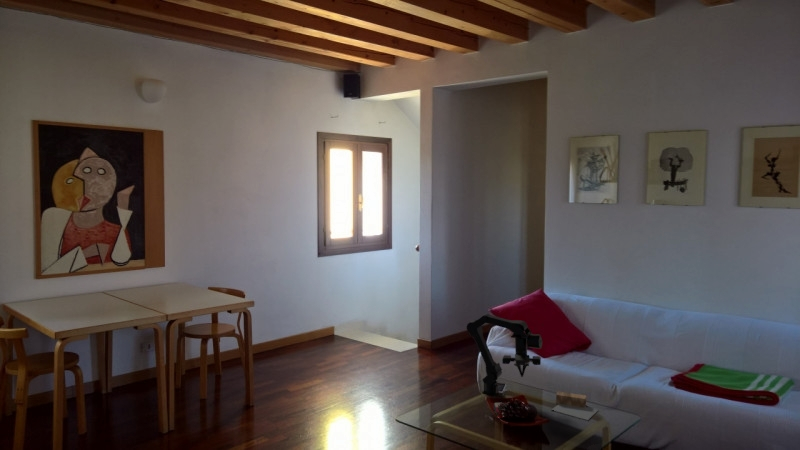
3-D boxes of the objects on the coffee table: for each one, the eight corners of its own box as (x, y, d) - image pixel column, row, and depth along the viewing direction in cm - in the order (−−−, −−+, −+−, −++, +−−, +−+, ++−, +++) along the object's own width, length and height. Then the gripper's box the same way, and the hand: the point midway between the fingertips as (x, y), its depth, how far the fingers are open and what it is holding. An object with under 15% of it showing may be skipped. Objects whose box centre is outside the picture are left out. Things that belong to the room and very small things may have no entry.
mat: (551, 410, 288) (551, 409, 287) (562, 401, 298) (562, 400, 298) (587, 420, 277) (587, 419, 277) (598, 410, 288) (598, 409, 288)
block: (556, 394, 294) (585, 398, 289) (557, 391, 299) (586, 395, 293) (556, 403, 295) (585, 407, 290) (557, 399, 299) (586, 404, 294)
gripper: (500, 350, 293) (501, 381, 294) (539, 351, 288) (540, 383, 289) (502, 344, 303) (504, 373, 305) (540, 345, 298) (541, 375, 300)
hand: (522, 376), depth 299 cm, fingers closed
